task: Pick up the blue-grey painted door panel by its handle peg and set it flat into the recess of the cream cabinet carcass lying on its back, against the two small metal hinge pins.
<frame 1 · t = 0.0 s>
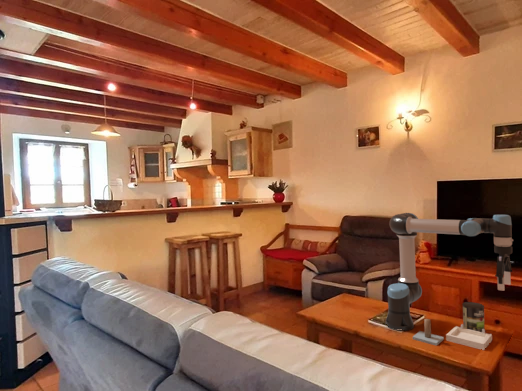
hand: (504, 287, 176), 28 cm above the table, fingers open, 13 cm apart
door: (428, 339, 184), on the table
cabinet carcass: (469, 340, 180), on the table
coffee can: (473, 330, 193), on the table
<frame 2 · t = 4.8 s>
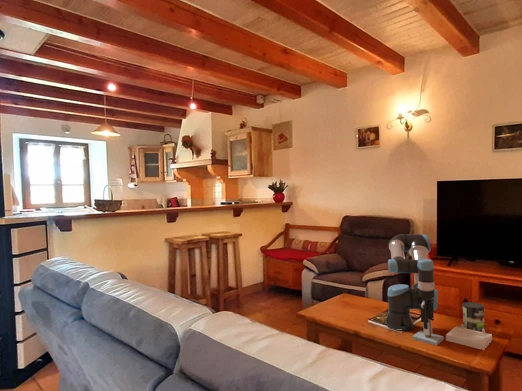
hand: (427, 333, 183), 3 cm above the table, fingers closed on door, 3 cm apart
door: (428, 339, 184), on the table, touching gripper
everything else where it was.
when the fingers open (6 cm above the table, at t = 9.0 s): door drops 1 cm, resting on cabinet carcass.
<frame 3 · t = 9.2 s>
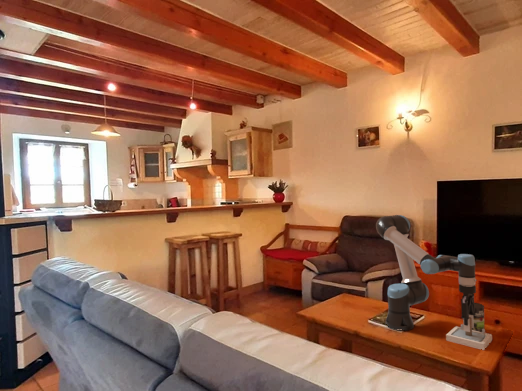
hand: (468, 329, 180), 6 cm above the table, fingers open, 6 cm apart
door: (468, 338, 180), point 1 cm above the table, touching cabinet carcass
everything else where it was.
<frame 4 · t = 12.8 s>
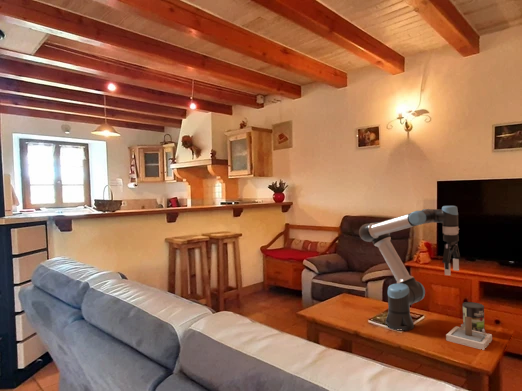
hand: (452, 272, 191), 33 cm above the table, fingers open, 13 cm apart
nothing on the table moved.
at the end: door 0.1 cm off-centre on the cabinet carcass, point 1.2 cm above the cabinet carcass's base; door tilted 0°; the gripper is holding nothing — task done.
